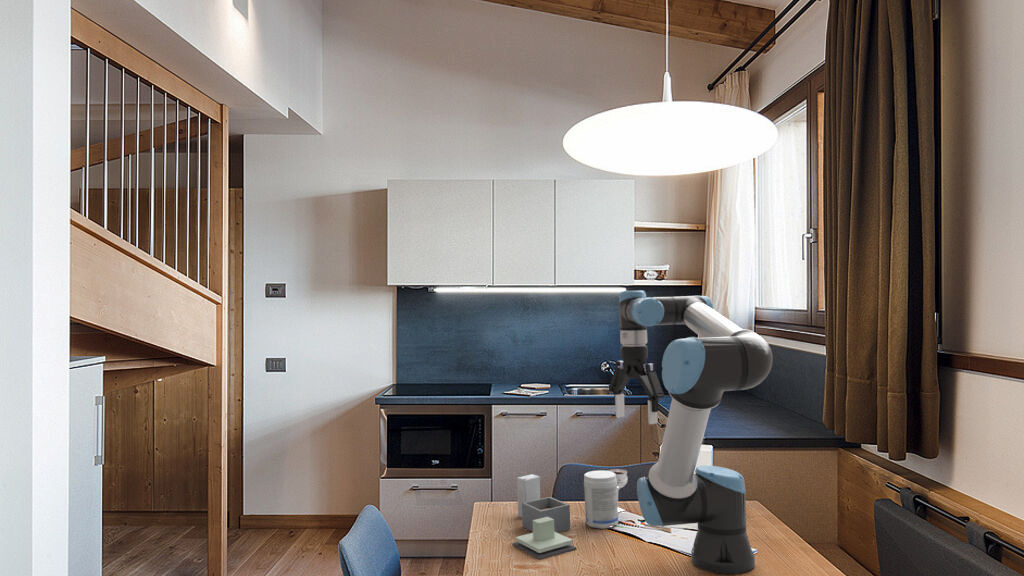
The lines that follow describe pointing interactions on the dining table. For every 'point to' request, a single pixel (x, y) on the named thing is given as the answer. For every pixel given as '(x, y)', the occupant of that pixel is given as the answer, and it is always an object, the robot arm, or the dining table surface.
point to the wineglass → (620, 481)
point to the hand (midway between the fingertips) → (636, 420)
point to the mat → (544, 554)
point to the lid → (544, 536)
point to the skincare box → (527, 490)
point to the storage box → (546, 513)
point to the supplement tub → (601, 499)
